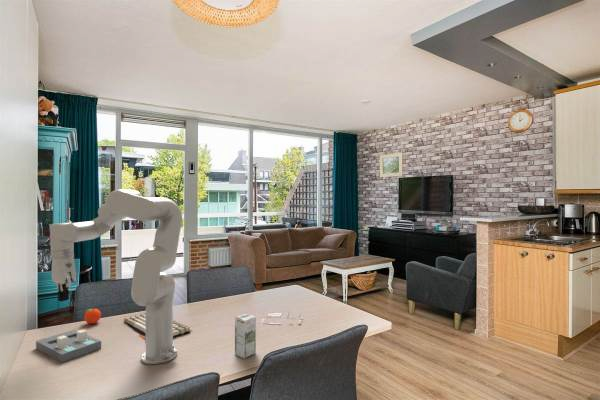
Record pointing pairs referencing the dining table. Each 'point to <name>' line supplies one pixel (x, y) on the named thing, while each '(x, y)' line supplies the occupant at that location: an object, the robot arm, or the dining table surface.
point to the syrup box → (245, 335)
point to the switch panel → (70, 352)
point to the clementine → (92, 316)
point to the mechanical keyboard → (140, 326)
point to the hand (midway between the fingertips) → (63, 300)
